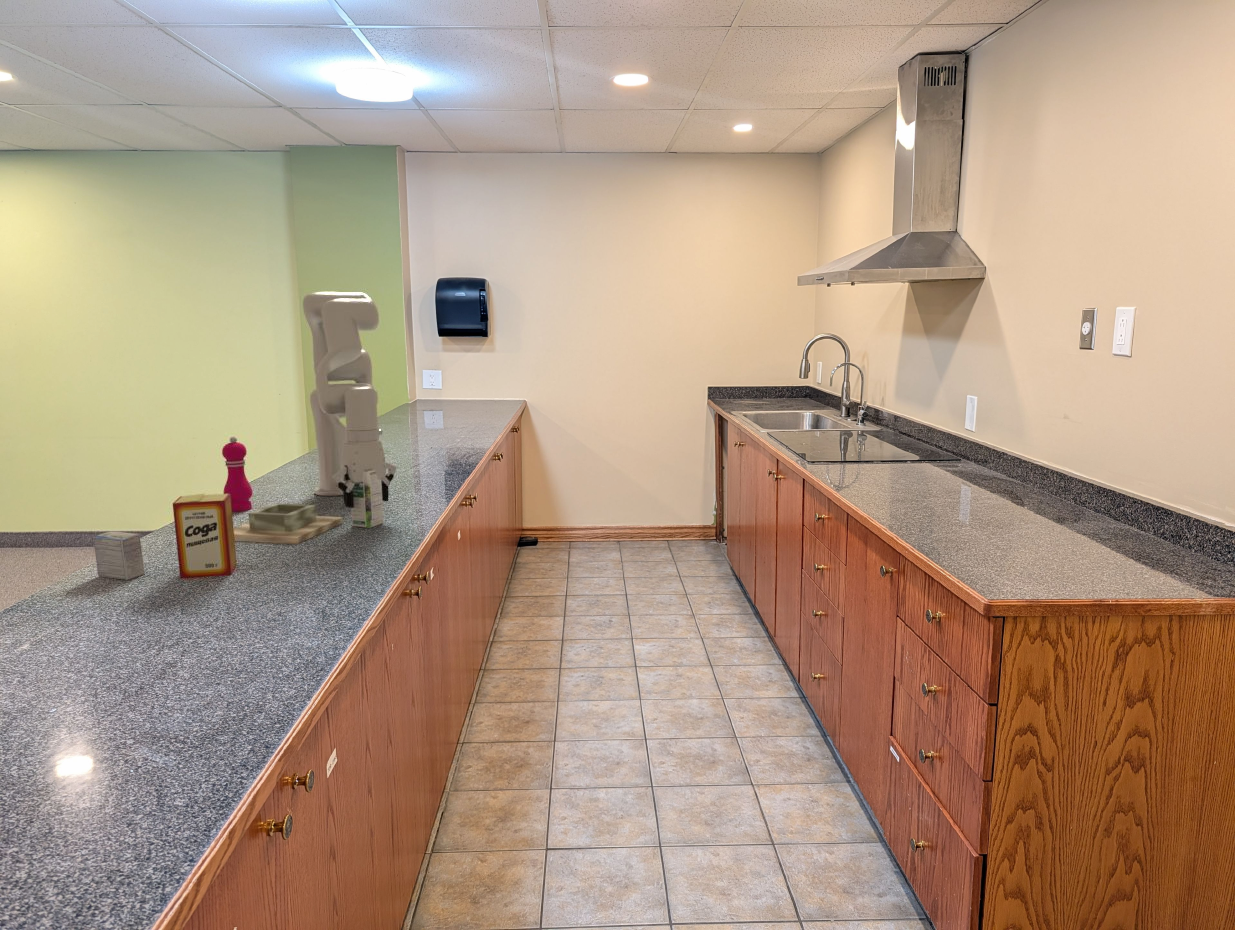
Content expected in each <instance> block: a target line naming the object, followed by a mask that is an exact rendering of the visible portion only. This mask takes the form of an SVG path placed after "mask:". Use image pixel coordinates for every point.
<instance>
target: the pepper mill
mask: <svg viewBox="0 0 1235 930" xmlns="http://www.w3.org/2000/svg"><path fill="white" fill-rule="evenodd" d="M237 441H238V438H237V437H236V436H231V437H230V438H229V442H228V443H226V444H224V446H223V447H222V451H221V453H222V456H223V458H224V459H225V461H224V463H225V467H227V479H226V482H225V484H224V487H223V493H222V494H230V496H231V507H232V512H245V511H248V510H251V509H252V508H253V506H252V501H251V500H250V499H251V498H252V497H253V488H252V486H251V483H250V482H249V480H248V478H247V476H246V473H245V465H246V464H247V463H246V460H245V459H244V458H245V457H246V456H247V448H246V446H245V445H244V444H243V443H241V442H237Z"/></svg>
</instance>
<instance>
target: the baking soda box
mask: <svg viewBox="0 0 1235 930" xmlns="http://www.w3.org/2000/svg"><path fill="white" fill-rule="evenodd" d="M172 510H173V521H174V529H175V540H176V549H177V559H178V560H177V561H178V571H179V578H180V579H183V580H184V579H185V580H186V579H195V578H209V577H220V576H222V577H223V576H231V575H232V574H233V572H235V569H236V567H238V563H237V552H236V540H234V520H233V511H232V507H231V496H230V494H223V493H219V494H218V493H216V494H205V493H200V494H189V495H183V496H182V495H181V496H179V497H177V499H176V500H175V501H174V502H172Z"/></svg>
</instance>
